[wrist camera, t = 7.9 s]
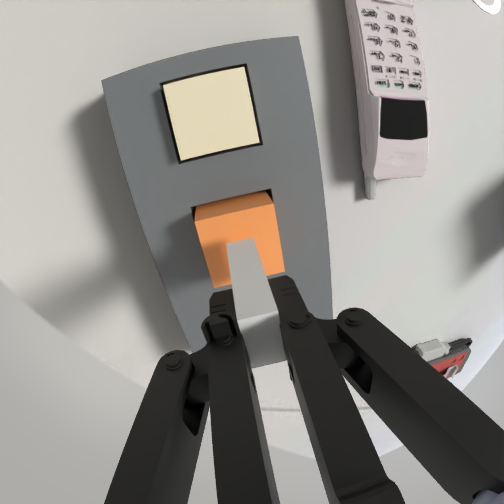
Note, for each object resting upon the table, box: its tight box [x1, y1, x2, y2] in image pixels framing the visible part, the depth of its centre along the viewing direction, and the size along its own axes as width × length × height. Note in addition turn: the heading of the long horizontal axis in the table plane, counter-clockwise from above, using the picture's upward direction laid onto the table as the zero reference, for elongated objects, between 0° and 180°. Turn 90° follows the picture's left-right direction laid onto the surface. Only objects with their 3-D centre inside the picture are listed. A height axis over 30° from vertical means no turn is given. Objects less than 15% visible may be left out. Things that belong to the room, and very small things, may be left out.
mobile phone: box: [345, 0, 429, 200], centre depth 16 cm, size 6×6×25 cm
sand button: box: [163, 67, 259, 160], centre depth 17 cm, size 5×5×4 cm
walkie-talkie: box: [414, 338, 472, 379], centre depth 35 cm, size 9×4×20 cm
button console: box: [101, 36, 333, 353], centre depth 22 cm, size 24×12×4 cm, turn 11°
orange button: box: [194, 190, 285, 288], centre depth 20 cm, size 5×5×4 cm
